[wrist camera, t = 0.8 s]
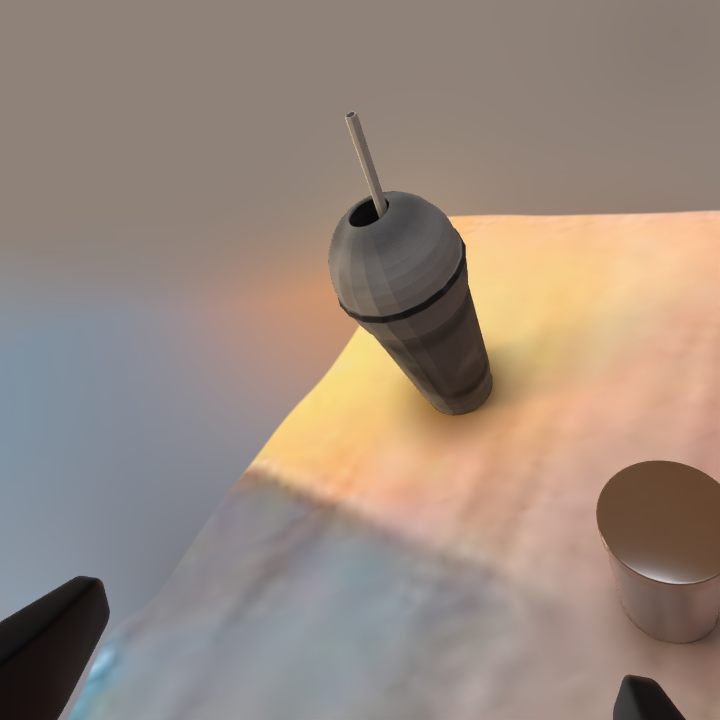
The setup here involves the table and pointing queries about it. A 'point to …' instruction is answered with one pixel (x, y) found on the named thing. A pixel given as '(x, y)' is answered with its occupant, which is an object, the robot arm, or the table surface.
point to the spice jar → (664, 547)
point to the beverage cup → (411, 289)
